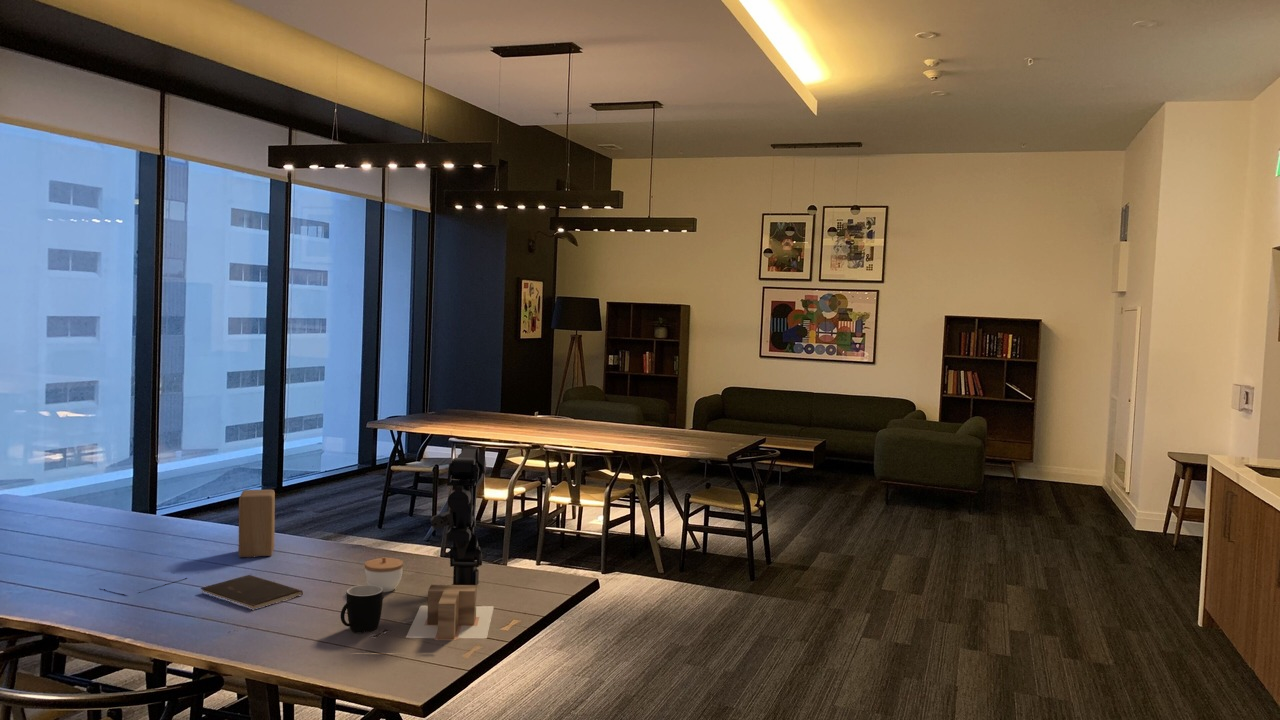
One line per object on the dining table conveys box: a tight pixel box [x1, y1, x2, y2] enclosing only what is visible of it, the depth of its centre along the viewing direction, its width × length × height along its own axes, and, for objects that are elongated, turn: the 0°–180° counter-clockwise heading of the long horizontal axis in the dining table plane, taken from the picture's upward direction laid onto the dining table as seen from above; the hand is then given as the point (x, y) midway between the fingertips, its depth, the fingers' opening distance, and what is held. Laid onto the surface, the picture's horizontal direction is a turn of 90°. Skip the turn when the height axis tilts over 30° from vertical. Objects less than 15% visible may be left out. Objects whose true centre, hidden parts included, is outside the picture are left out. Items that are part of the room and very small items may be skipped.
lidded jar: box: [364, 556, 404, 593], centre depth 270 cm, size 11×11×9 cm
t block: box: [427, 584, 478, 639], centre depth 240 cm, size 15×12×9 cm
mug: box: [340, 584, 384, 634], centre depth 237 cm, size 12×9×10 cm
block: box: [238, 489, 276, 558], centre depth 299 cm, size 10×10×20 cm
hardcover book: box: [200, 574, 304, 609], centre depth 261 cm, size 16×23×2 cm
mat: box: [405, 605, 495, 641], centre depth 244 cm, size 25×20×1 cm
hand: (460, 558), depth 262 cm, fingers closed
